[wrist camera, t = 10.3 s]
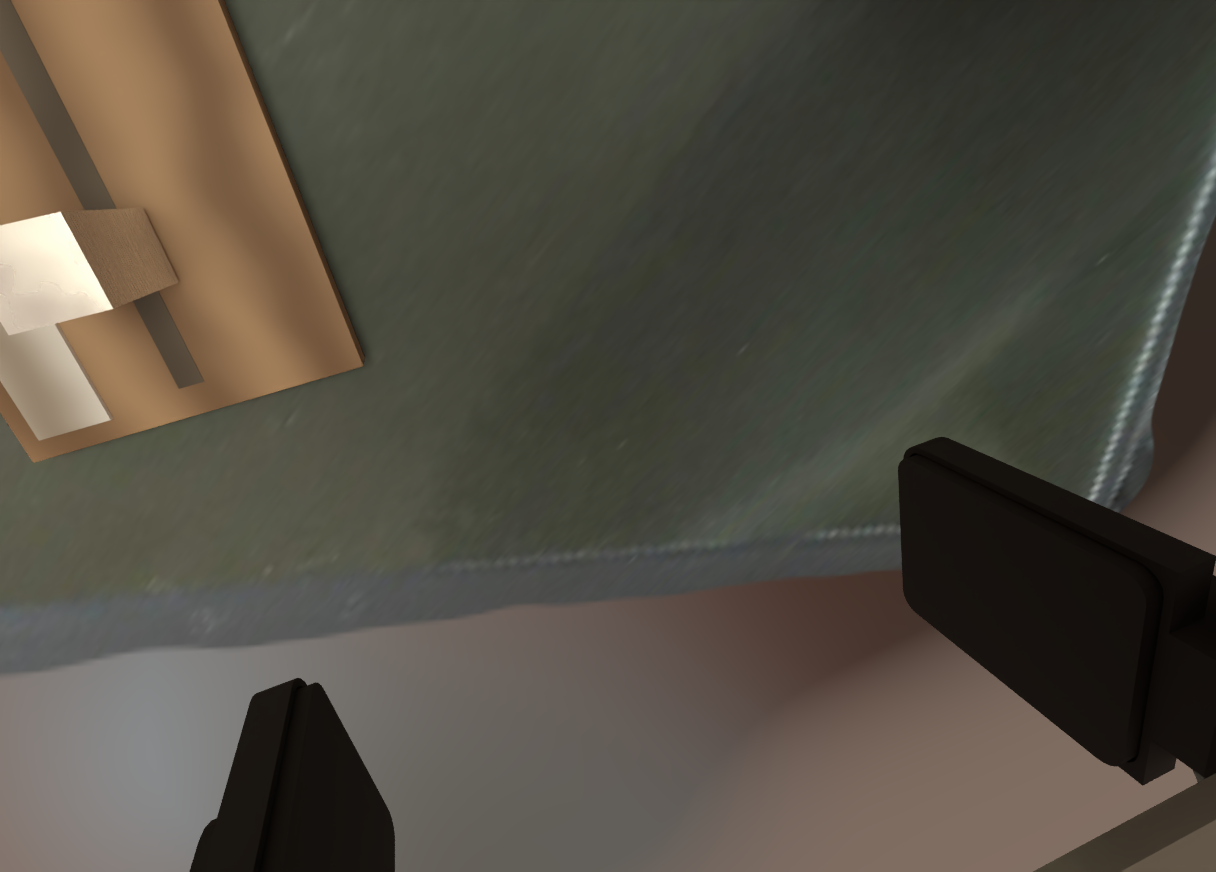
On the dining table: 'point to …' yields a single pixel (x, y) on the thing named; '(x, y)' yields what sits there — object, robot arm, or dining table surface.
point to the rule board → (158, 221)
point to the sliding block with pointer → (77, 266)
